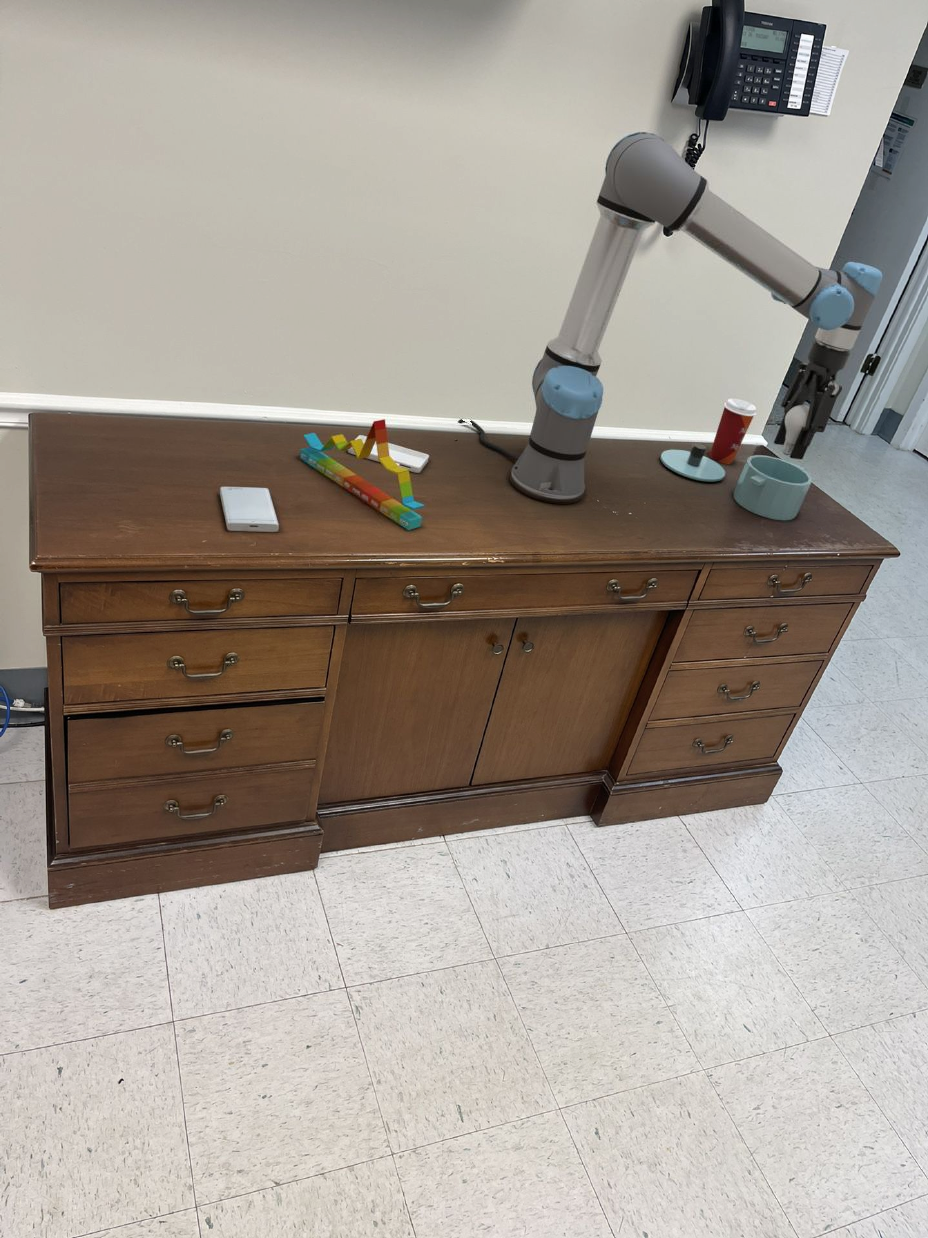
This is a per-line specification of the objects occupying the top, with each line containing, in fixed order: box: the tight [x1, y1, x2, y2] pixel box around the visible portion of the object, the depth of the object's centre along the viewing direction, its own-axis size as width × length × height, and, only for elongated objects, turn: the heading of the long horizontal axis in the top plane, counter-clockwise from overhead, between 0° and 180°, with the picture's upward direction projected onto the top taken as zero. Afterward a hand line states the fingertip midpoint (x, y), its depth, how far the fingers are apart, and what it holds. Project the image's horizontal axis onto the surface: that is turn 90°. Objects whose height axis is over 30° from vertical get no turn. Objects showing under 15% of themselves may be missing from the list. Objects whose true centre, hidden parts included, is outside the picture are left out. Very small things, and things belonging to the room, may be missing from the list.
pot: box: [732, 454, 813, 521], centre depth 200 cm, size 14×20×8 cm
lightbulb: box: [781, 404, 810, 456], centre depth 193 cm, size 6×6×11 cm
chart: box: [299, 419, 425, 531], centre depth 164 cm, size 30×3×15 cm, turn 47°
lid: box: [659, 442, 726, 483], centre depth 210 cm, size 15×15×6 cm
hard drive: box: [219, 486, 280, 533], centre depth 153 cm, size 2×8×12 cm
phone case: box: [347, 434, 430, 474], centre depth 183 cm, size 7×1×15 cm
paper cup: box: [709, 398, 757, 465], centre depth 217 cm, size 8×8×14 cm
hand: (787, 450), depth 196 cm, fingers closed on lightbulb, 6 cm apart
